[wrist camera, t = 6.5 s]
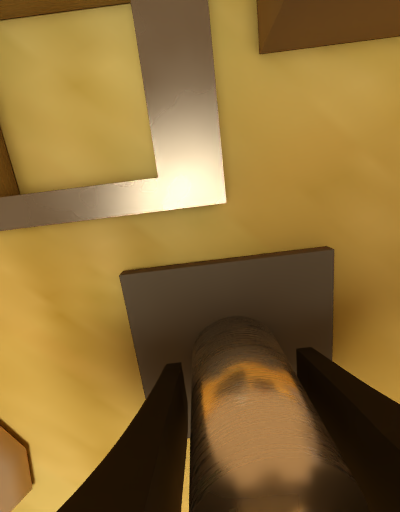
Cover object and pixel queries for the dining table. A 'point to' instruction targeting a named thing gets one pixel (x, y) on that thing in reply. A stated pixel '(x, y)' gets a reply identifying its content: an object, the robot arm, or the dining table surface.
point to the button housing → (324, 22)
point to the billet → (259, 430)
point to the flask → (12, 472)
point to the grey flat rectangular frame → (160, 117)
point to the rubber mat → (229, 305)
